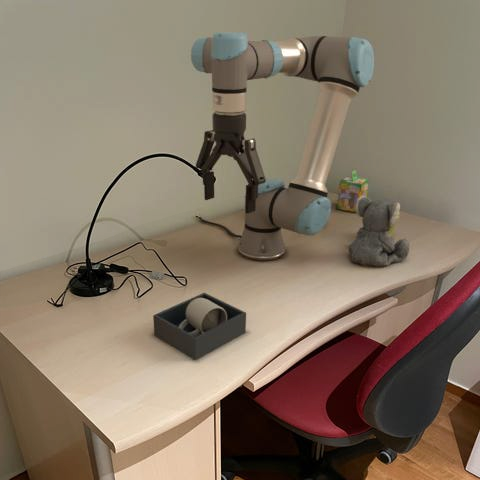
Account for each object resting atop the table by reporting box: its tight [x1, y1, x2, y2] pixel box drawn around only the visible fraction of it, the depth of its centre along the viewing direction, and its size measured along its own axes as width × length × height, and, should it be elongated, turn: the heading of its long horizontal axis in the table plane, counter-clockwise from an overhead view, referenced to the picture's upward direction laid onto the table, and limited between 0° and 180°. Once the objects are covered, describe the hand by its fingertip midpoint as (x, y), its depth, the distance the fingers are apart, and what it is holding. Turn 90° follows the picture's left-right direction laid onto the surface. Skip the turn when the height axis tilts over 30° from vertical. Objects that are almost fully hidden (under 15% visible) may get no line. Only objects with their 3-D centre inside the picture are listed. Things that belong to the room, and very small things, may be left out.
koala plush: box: [347, 196, 410, 267], centre depth 161 cm, size 17×18×20 cm
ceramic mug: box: [179, 298, 227, 337], centre depth 122 cm, size 11×8×8 cm
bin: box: [152, 292, 247, 361], centre depth 123 cm, size 14×16×6 cm
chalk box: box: [336, 169, 370, 213], centre depth 205 cm, size 9×9×15 cm
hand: (229, 205), depth 126 cm, fingers open, 13 cm apart
